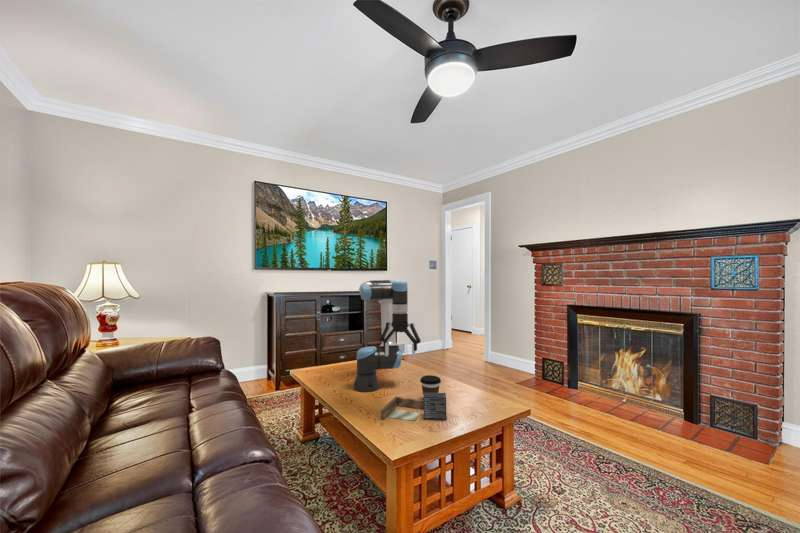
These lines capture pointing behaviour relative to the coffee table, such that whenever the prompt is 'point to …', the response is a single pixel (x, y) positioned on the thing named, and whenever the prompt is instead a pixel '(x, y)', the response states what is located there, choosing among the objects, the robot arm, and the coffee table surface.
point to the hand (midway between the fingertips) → (400, 356)
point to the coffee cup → (430, 384)
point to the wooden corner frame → (401, 413)
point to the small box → (435, 406)
